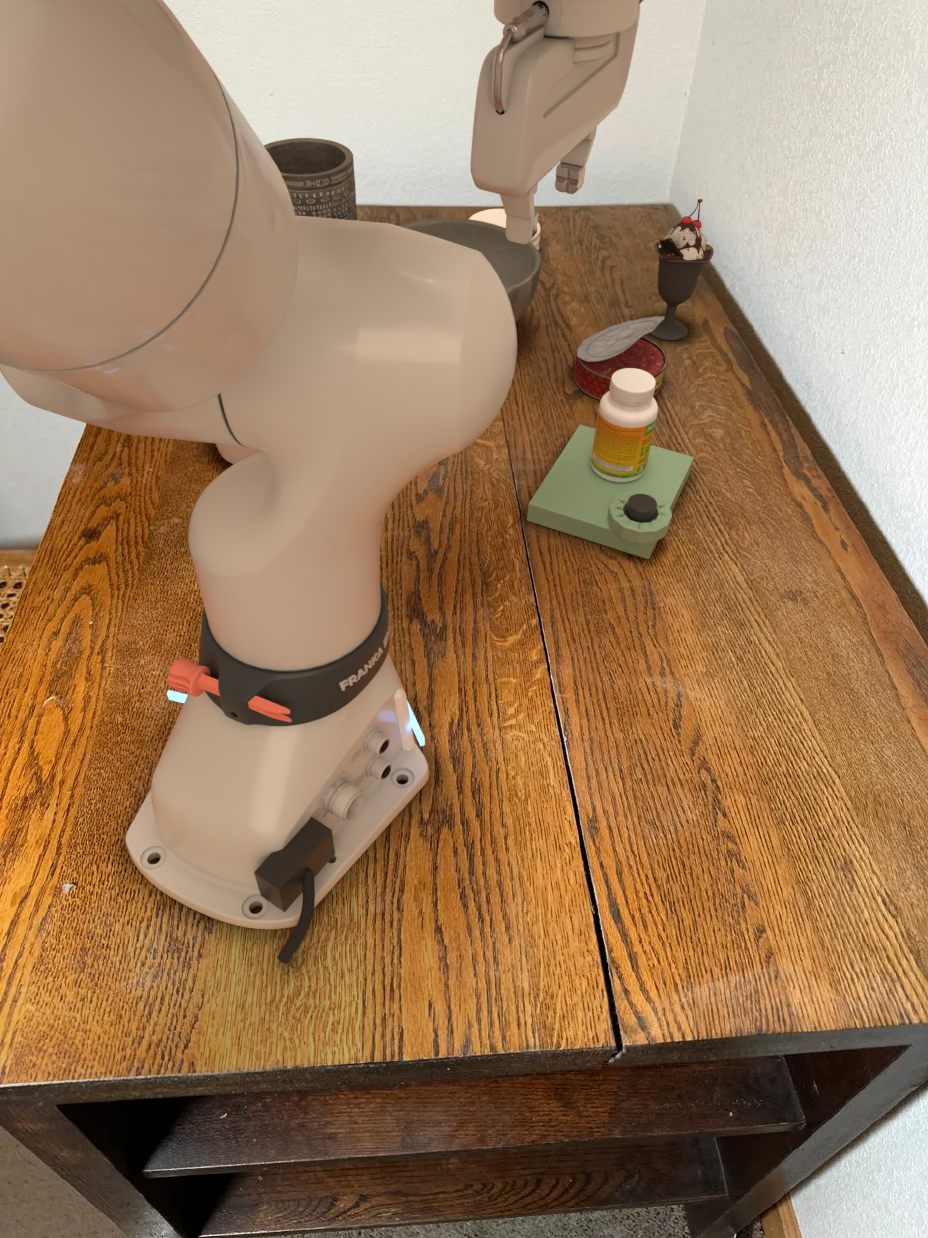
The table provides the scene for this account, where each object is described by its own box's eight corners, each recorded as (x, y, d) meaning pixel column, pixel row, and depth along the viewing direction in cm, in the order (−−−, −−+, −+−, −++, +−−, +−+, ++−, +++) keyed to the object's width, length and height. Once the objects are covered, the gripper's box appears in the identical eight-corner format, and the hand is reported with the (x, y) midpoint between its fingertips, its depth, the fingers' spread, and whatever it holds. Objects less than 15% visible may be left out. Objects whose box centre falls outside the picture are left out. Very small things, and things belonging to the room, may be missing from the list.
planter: (367, 274, 120) (362, 171, 110) (272, 284, 117) (258, 179, 108) (350, 232, 127) (344, 133, 118) (260, 241, 125) (247, 140, 116)
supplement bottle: (643, 487, 88) (662, 400, 81) (587, 479, 89) (601, 392, 82) (647, 453, 92) (665, 367, 85) (592, 446, 92) (606, 359, 85)
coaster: (551, 245, 127) (554, 219, 124) (515, 273, 121) (517, 247, 118) (488, 225, 130) (490, 200, 128) (450, 252, 124) (450, 226, 122)
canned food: (605, 438, 105) (580, 382, 96) (572, 382, 110) (545, 324, 102) (697, 387, 103) (679, 325, 95) (658, 332, 108) (638, 269, 100)
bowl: (463, 276, 120) (465, 197, 113) (569, 345, 109) (579, 263, 102) (329, 321, 111) (323, 239, 104) (430, 402, 101) (430, 316, 93)
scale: (654, 567, 84) (661, 538, 81) (523, 525, 87) (526, 496, 85) (697, 475, 93) (704, 447, 90) (577, 440, 96) (581, 412, 94)
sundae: (690, 316, 115) (718, 192, 104) (698, 345, 110) (728, 218, 99) (636, 314, 115) (658, 190, 104) (642, 343, 110) (666, 216, 99)
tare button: (649, 526, 83) (652, 515, 82) (621, 518, 84) (624, 506, 83) (658, 509, 84) (660, 498, 83) (630, 501, 85) (633, 490, 84)
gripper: (554, 36, 49) (532, 283, 59) (663, -41, 62) (630, 172, 72) (447, 19, 51) (443, 262, 61) (574, -53, 64) (554, 157, 74)
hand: (545, 213), depth 67 cm, fingers open, 8 cm apart
